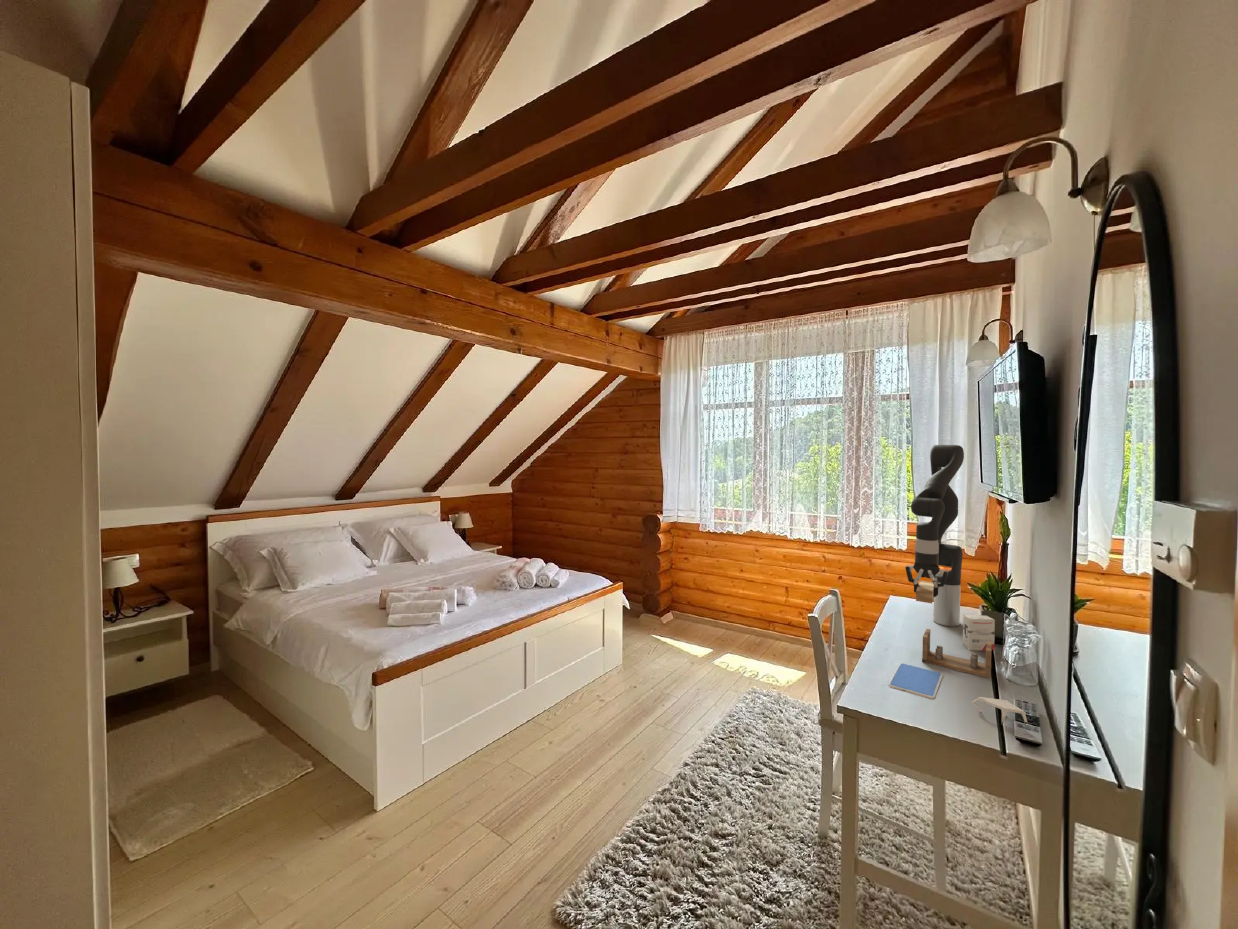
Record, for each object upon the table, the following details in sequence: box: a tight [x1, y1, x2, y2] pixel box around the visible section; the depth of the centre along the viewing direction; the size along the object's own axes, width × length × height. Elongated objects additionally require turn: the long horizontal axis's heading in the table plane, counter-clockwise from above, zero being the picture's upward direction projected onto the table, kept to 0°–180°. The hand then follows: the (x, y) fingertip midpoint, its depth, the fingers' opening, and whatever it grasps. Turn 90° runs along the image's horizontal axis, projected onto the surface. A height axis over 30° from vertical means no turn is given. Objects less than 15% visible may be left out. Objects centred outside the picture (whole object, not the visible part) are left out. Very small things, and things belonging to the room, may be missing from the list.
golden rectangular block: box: [915, 580, 934, 604], centre depth 186 cm, size 14×5×4 cm, turn 143°
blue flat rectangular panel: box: [887, 662, 943, 700], centre depth 159 cm, size 19×13×1 cm, turn 140°
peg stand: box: [921, 628, 993, 679], centre depth 170 cm, size 9×19×9 cm, turn 51°
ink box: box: [962, 614, 996, 652], centre depth 183 cm, size 9×5×12 cm, turn 84°
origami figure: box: [971, 696, 1028, 726], centre depth 137 cm, size 12×8×5 cm
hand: (925, 594), depth 186 cm, fingers closed on golden rectangular block, 5 cm apart
